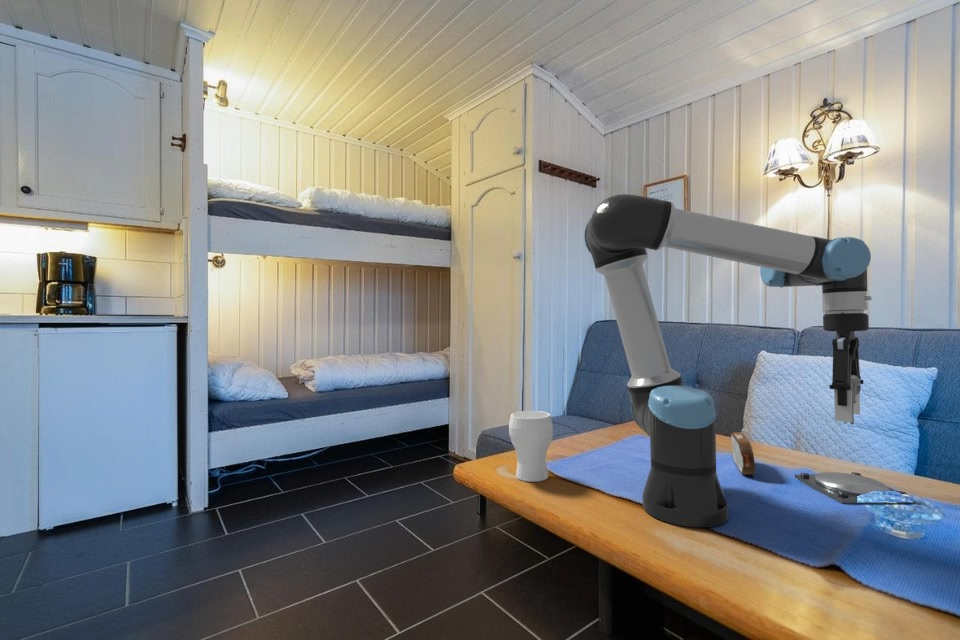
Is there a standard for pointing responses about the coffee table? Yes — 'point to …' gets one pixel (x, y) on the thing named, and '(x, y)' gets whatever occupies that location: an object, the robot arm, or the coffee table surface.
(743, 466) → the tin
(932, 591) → the coffee table surface
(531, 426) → the cup
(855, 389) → the mechanical component
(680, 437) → the robot arm
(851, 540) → the coffee table surface
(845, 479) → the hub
